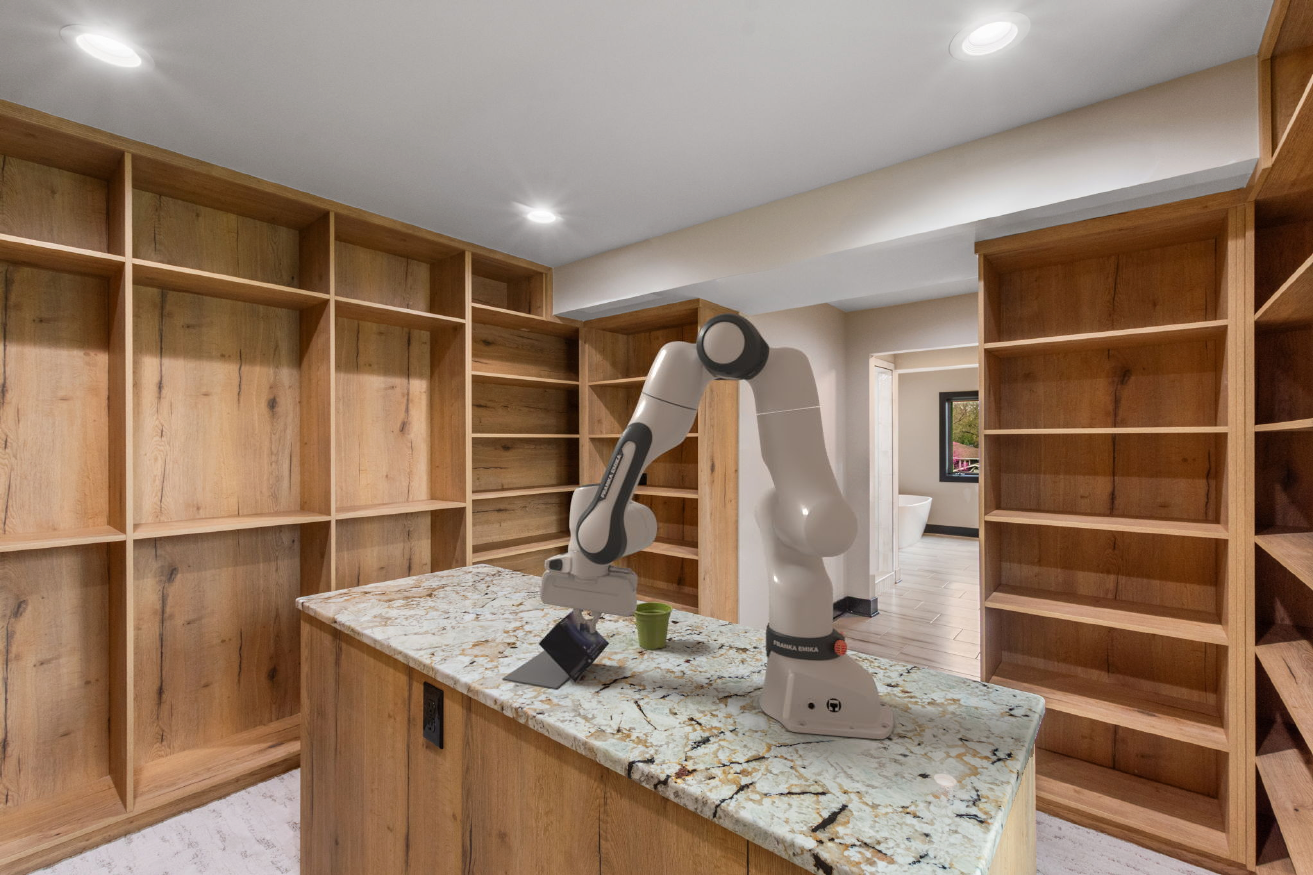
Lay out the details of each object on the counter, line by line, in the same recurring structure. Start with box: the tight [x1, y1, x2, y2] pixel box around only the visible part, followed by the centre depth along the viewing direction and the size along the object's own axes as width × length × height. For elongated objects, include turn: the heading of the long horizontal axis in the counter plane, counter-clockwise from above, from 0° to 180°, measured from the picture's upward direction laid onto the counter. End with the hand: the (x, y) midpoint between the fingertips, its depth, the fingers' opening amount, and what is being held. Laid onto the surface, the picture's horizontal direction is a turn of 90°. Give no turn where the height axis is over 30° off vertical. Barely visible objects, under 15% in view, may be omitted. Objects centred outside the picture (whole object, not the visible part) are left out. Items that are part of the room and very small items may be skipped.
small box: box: [538, 610, 610, 683], centre depth 116 cm, size 11×6×10 cm
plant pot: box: [633, 601, 674, 650], centre depth 131 cm, size 9×9×9 cm
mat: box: [501, 649, 571, 690], centre depth 118 cm, size 12×18×1 cm, turn 160°
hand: (586, 631), depth 115 cm, fingers closed
